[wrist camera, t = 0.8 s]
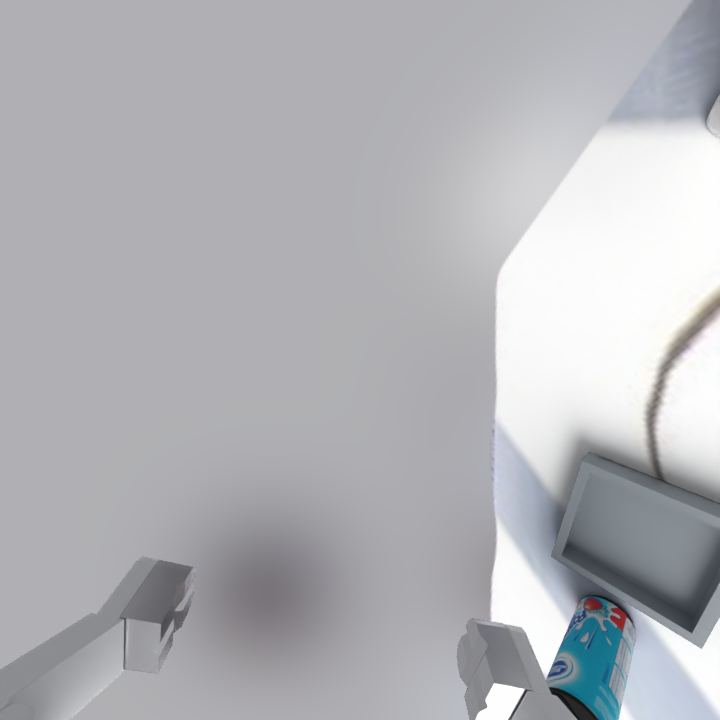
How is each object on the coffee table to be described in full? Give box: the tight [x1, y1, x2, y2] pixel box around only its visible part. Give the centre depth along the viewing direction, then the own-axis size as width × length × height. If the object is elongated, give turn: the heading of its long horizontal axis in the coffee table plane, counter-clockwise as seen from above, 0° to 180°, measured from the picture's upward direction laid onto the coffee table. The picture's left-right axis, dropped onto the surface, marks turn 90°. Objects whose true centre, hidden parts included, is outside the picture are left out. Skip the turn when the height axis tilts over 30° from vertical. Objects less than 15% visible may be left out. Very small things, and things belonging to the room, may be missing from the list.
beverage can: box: [546, 596, 636, 720], centre depth 37 cm, size 6×6×15 cm
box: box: [551, 452, 720, 649], centre depth 37 cm, size 14×14×3 cm
